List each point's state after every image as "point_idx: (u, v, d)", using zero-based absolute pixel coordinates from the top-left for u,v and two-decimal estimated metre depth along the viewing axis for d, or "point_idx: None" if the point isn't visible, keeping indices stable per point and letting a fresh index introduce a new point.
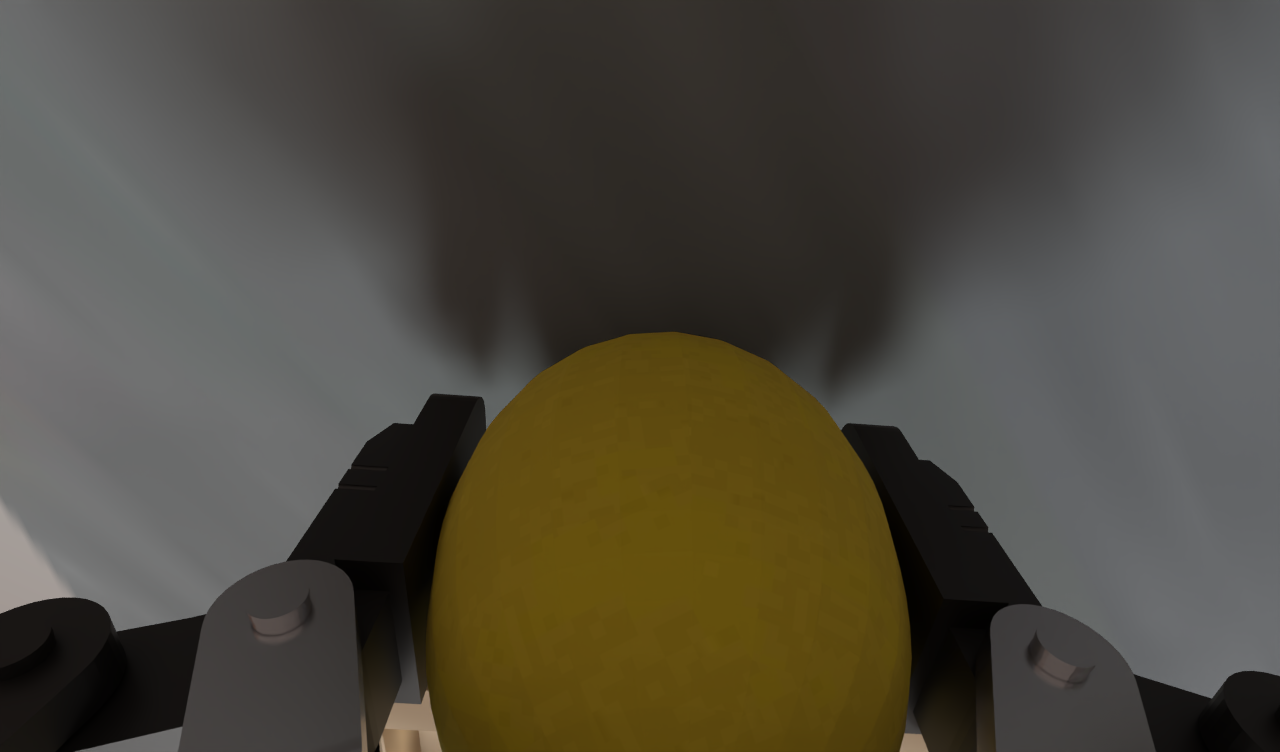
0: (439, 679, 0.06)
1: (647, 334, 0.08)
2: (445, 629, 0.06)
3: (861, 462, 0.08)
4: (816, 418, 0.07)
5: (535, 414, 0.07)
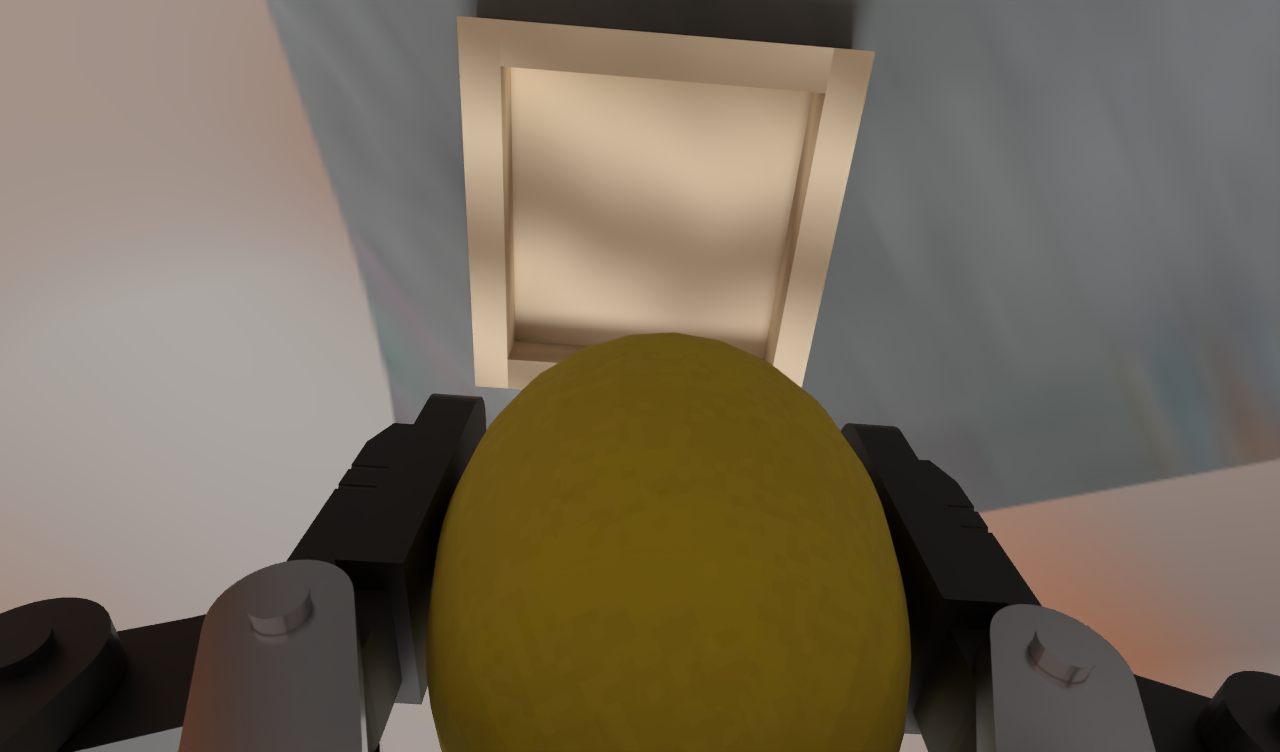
0: (439, 680, 0.06)
1: (647, 335, 0.08)
2: (446, 630, 0.06)
3: (861, 463, 0.08)
4: (816, 419, 0.07)
5: (535, 415, 0.07)
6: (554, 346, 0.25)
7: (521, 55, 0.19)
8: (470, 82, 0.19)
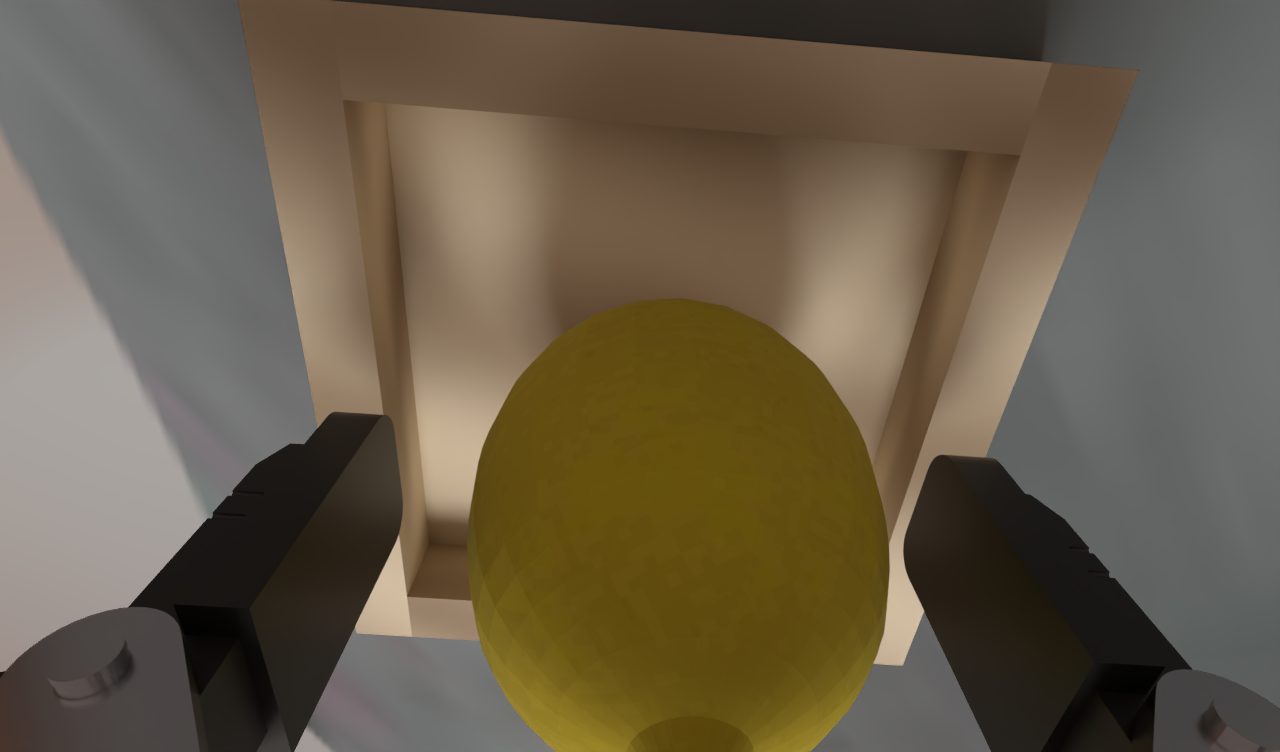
0: (484, 588, 0.07)
1: None
2: (489, 545, 0.07)
3: (847, 410, 0.09)
4: (807, 369, 0.08)
5: (561, 366, 0.08)
6: None
7: (384, 77, 0.09)
8: (284, 132, 0.09)
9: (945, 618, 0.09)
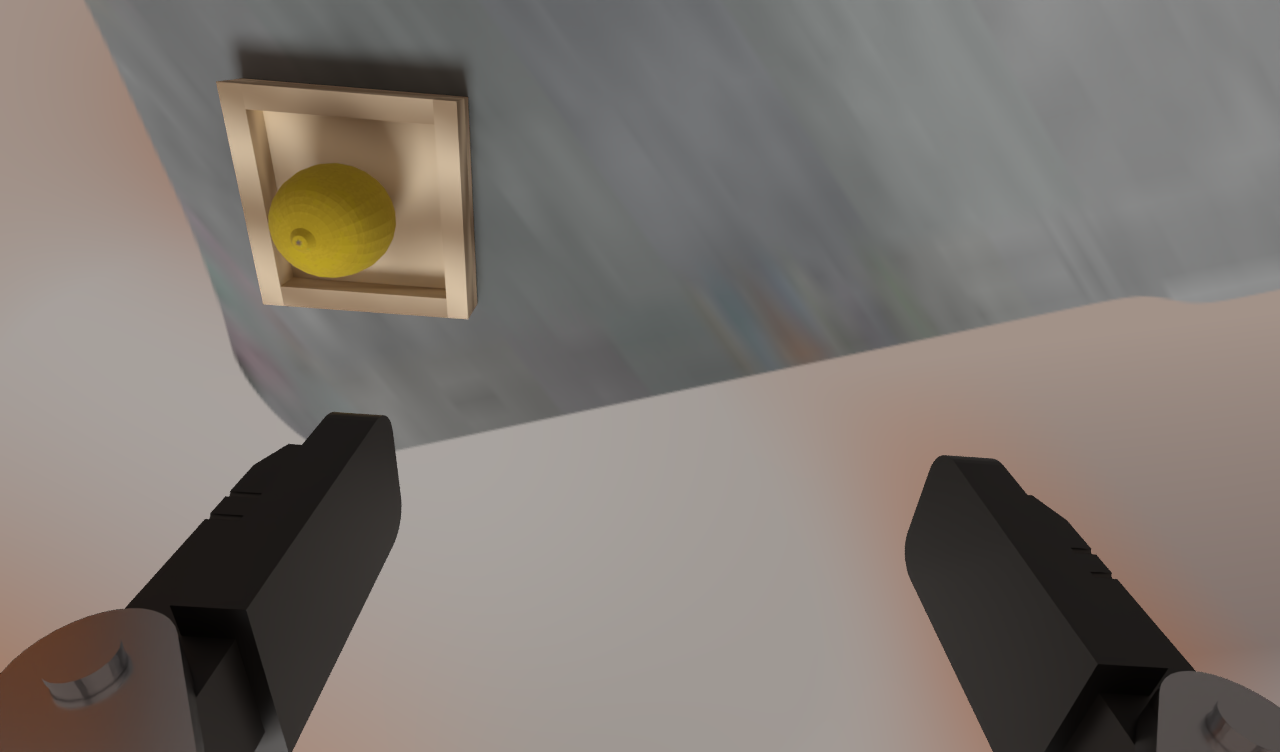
0: (268, 217, 0.31)
1: None
2: (270, 208, 0.31)
3: (376, 190, 0.33)
4: (358, 176, 0.32)
5: None
6: (317, 280, 0.39)
7: (256, 103, 0.33)
8: (230, 118, 0.33)
9: (947, 619, 0.09)
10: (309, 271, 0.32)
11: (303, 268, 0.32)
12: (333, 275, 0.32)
